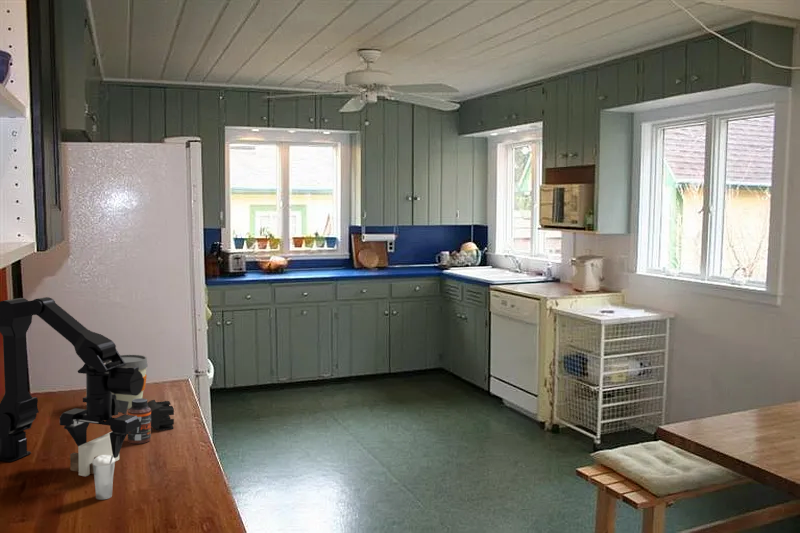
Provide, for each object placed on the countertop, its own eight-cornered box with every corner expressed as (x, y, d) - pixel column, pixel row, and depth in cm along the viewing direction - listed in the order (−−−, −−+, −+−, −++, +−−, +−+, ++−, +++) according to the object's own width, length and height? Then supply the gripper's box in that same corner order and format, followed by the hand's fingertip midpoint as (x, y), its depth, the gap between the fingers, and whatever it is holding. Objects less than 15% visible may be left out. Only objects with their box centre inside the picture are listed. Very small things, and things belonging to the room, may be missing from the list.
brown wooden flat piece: (70, 470, 169) (70, 454, 169) (74, 468, 170) (73, 452, 170) (106, 475, 166) (105, 459, 166) (109, 473, 167) (109, 457, 167)
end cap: (143, 422, 207) (143, 400, 207) (168, 420, 210) (168, 398, 210) (147, 433, 198) (147, 409, 198) (174, 430, 202) (174, 406, 201)
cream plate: (85, 476, 166) (85, 447, 165) (78, 475, 166) (78, 446, 166) (119, 459, 177) (119, 432, 177) (112, 458, 178) (112, 431, 177)
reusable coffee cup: (120, 398, 232) (120, 353, 231) (155, 401, 230) (155, 356, 228) (96, 408, 220) (96, 361, 219) (133, 412, 217) (133, 364, 216)
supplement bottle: (143, 445, 188) (143, 403, 187) (123, 443, 189) (122, 402, 188) (155, 438, 193) (155, 398, 192) (135, 436, 195) (135, 396, 194)
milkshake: (103, 503, 151) (103, 458, 150) (88, 497, 154) (87, 453, 153) (122, 496, 155) (121, 452, 154) (106, 491, 157) (106, 447, 157)
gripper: (153, 387, 175) (153, 449, 177) (89, 380, 180) (90, 440, 182) (124, 398, 165) (124, 464, 166) (57, 391, 170) (58, 454, 171)
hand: (99, 455), depth 171 cm, fingers open, 9 cm apart
